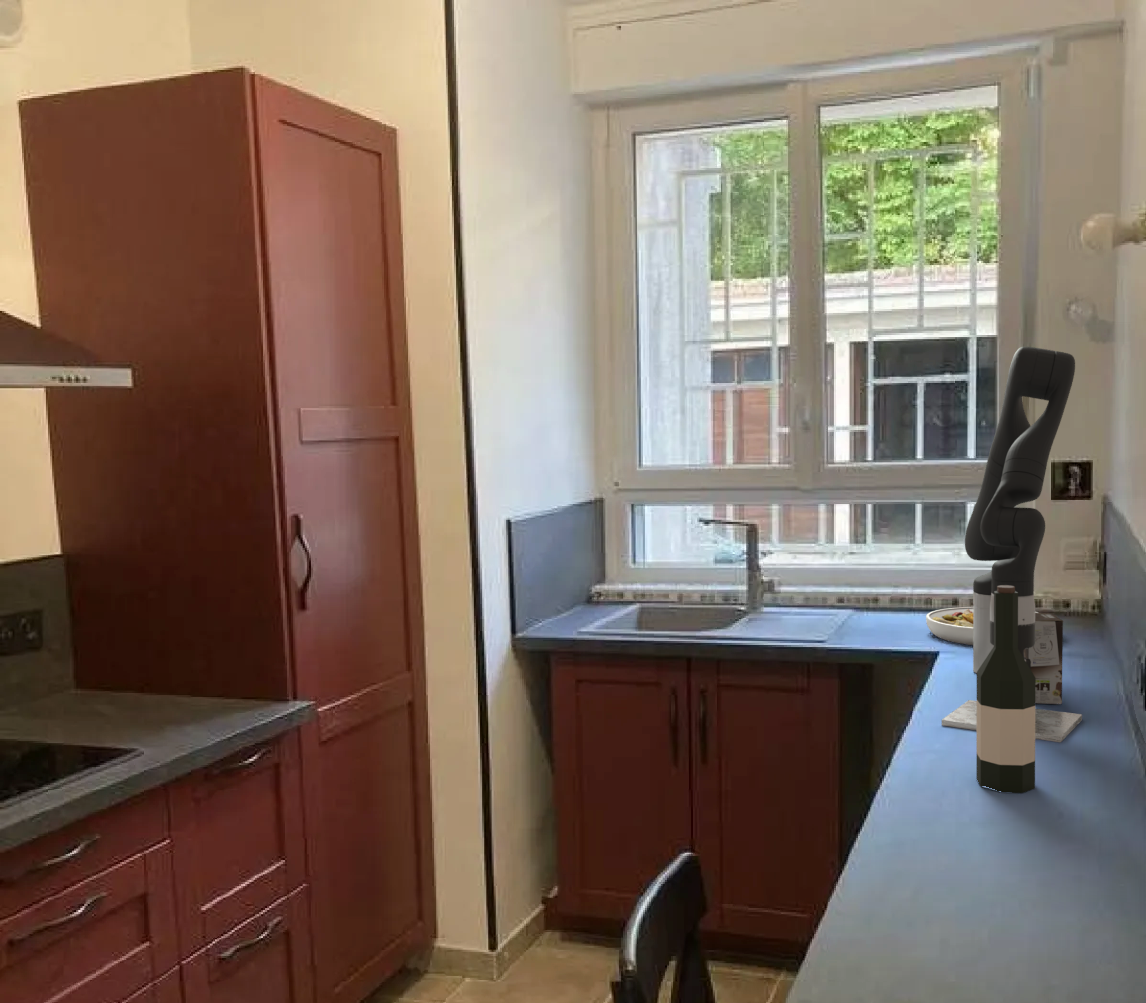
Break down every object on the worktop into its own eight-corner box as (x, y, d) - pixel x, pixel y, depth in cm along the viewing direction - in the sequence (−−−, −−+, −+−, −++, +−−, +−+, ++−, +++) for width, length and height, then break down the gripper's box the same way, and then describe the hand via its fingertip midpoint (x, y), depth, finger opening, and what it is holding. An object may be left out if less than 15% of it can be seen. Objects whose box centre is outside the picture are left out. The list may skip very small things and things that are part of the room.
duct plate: (968, 705, 211) (968, 674, 210) (1082, 720, 199) (1082, 687, 198) (941, 725, 198) (941, 692, 197) (1060, 742, 186) (1061, 707, 186)
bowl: (1047, 654, 253) (1048, 620, 252) (913, 644, 268) (913, 612, 267) (1063, 630, 279) (1063, 599, 278) (940, 622, 294) (940, 593, 293)
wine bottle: (1029, 797, 161) (1030, 592, 158) (970, 788, 165) (970, 588, 163) (1039, 780, 168) (1040, 584, 165) (982, 772, 172) (982, 581, 170)
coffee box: (1063, 704, 209) (1064, 620, 208) (1027, 703, 211) (1027, 620, 209) (1052, 692, 218) (1053, 611, 217) (1018, 692, 220) (1018, 611, 218)
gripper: (1046, 626, 189) (1046, 719, 191) (1022, 611, 204) (1022, 698, 205) (1001, 626, 190) (1001, 719, 192) (980, 612, 204) (980, 698, 206)
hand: (1012, 708), depth 198 cm, fingers open, 8 cm apart
